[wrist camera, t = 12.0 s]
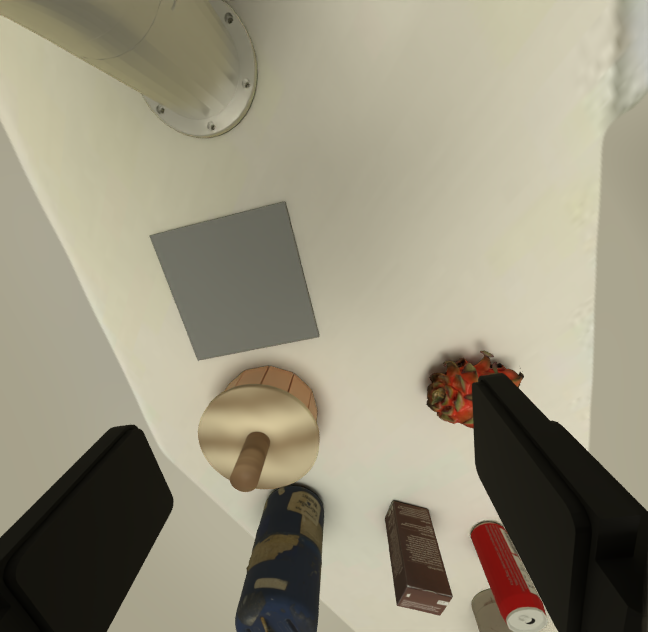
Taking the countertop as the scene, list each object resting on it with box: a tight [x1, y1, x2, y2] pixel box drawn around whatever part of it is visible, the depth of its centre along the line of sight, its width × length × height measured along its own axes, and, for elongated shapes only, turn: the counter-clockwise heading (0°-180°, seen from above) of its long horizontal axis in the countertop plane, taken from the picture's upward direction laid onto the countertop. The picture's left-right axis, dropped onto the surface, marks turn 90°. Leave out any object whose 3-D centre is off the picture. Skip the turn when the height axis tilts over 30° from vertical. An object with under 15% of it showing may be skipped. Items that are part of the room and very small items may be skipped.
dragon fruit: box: [426, 351, 524, 428], centre depth 40 cm, size 8×8×12 cm
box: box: [385, 501, 453, 616], centre depth 45 cm, size 6×4×12 cm
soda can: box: [471, 522, 548, 632], centre depth 46 cm, size 6×6×12 cm
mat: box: [150, 202, 319, 361], centre depth 41 cm, size 17×17×1 cm
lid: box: [198, 384, 320, 492], centre depth 37 cm, size 15×15×7 cm
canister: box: [235, 486, 324, 632], centre depth 43 cm, size 10×10×18 cm
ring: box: [225, 366, 318, 420], centre depth 43 cm, size 13×13×6 cm
